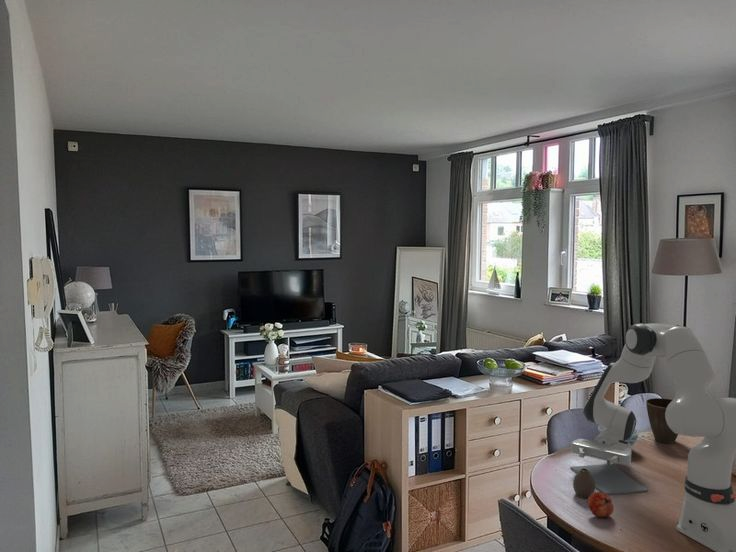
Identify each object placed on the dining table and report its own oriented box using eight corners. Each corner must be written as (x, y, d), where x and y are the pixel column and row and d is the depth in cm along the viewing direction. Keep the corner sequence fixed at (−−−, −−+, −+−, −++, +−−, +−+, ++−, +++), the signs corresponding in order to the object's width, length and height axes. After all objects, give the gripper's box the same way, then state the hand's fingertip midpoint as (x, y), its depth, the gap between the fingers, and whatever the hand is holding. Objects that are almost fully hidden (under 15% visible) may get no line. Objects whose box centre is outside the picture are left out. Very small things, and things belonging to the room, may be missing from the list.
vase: (596, 501, 190) (597, 474, 189) (574, 499, 191) (575, 473, 191) (592, 491, 197) (593, 466, 196) (571, 489, 198) (572, 464, 197)
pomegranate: (583, 519, 182) (598, 513, 174) (579, 495, 186) (593, 487, 178) (605, 521, 183) (621, 514, 174) (601, 497, 187) (616, 489, 179)
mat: (647, 491, 197) (648, 489, 197) (604, 494, 194) (604, 493, 194) (609, 465, 219) (609, 463, 219) (570, 468, 216) (570, 466, 216)
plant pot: (654, 446, 238) (655, 408, 237) (638, 434, 253) (640, 397, 251) (691, 447, 237) (693, 408, 236) (673, 434, 252) (675, 398, 251)
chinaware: (632, 443, 242) (632, 425, 241) (642, 457, 227) (643, 437, 226) (594, 440, 244) (594, 422, 244) (601, 454, 230) (602, 435, 229)
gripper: (577, 431, 220) (565, 442, 209) (635, 444, 208) (626, 457, 197) (576, 448, 221) (564, 459, 210) (634, 461, 209) (625, 475, 198)
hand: (594, 458), depth 203 cm, fingers open, 8 cm apart
